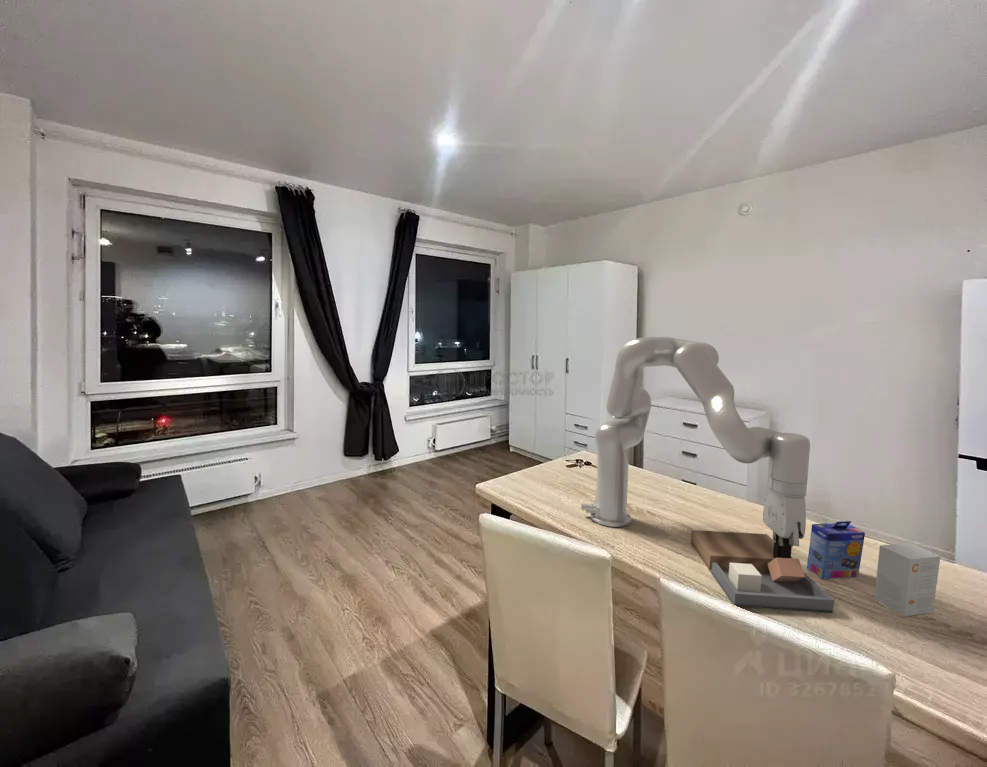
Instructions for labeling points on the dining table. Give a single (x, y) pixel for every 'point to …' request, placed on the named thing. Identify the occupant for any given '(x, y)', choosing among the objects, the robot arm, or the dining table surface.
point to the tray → (777, 593)
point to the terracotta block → (786, 570)
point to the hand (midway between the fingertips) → (781, 559)
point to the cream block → (745, 577)
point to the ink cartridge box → (835, 550)
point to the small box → (907, 578)
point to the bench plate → (733, 548)
